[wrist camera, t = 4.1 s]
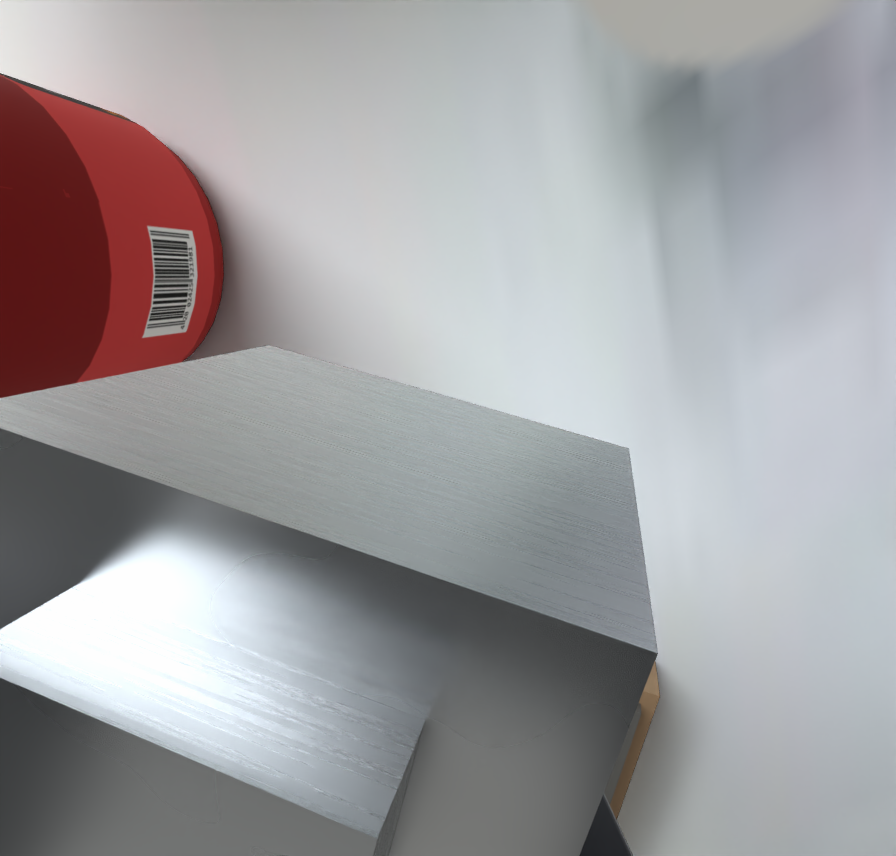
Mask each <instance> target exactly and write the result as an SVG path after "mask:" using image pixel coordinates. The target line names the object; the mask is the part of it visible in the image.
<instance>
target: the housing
mask: <svg viewBox="0 0 896 856" xmlns="http://www.w3.org/2000/svg"><path fill="white" fill-rule="evenodd" d="M657 654H658V652H657V644H656V637H655V630H654V623H653V616H652V609H651V602H650V595H649V588H648V581H647V574H646V567H645V560H644V553H643V545H642V538H641V531H640V524H639V517H638V510H637V503H636V496H635V489H634V482H633V475H632V468H631V461H630V454H629V448H625V447H622V446H618V445H615V444H611V443H608V442H604V441H601V440H597V439H594V438H590V437H587V436H583V435H580V434H576V433H573V432H569V431H566V430H563V429H559V428H556V427H552V426H549V425H545V424H542V423H538V422H535V421H531V420H528V419H524V418H521V417H517V416H514V415H510V414H507V413H503V412H500V411H497V410H493V409H490V408H486V407H483V406H479V405H476V404H472V403H469V402H465V401H462V400H458V399H455V398H451V397H448V396H444V395H441V394H437V393H434V392H431V391H427V390H424V389H420V388H417V387H413V386H410V385H406V384H403V383H399V382H396V381H392V380H389V379H385V378H382V377H378V376H375V375H371V374H368V373H364V372H361V371H358V370H354V369H351V368H347V367H344V366H340V365H337V364H333V363H330V362H326V361H323V360H319V359H316V358H312V357H309V356H305V355H302V354H298V353H295V352H292V351H288V350H285V349H281V348H278V347H274V346H271V345H267V346H262V347H257V348H252V349H247V350H242V351H237V352H232V353H227V354H222V355H217V356H211V357H206V358H201V359H196V360H191V361H186V362H181V363H176V364H171V365H166V366H161V367H156V368H151V369H146V370H140V371H135V372H130V373H125V374H120V375H115V376H110V377H105V378H100V379H95V380H90V381H85V382H80V383H74V384H69V385H64V386H59V387H54V388H49V389H44V390H39V391H34V392H29V393H24V394H19V395H14V396H9V397H3V398H0V856H579V855H580V853H581V850H582V847H583V845H584V842H585V840H586V837H587V835H588V832H589V829H590V827H591V824H592V822H593V819H594V816H595V814H596V811H597V809H598V806H599V804H600V801H601V798H602V796H603V793H604V791H605V788H606V786H607V783H608V780H609V778H610V775H611V773H612V770H613V768H614V765H615V762H616V760H617V757H618V755H619V752H620V749H621V747H622V744H623V742H624V739H625V737H626V734H627V731H628V729H629V726H630V724H631V721H632V719H633V716H634V713H635V711H636V708H637V706H638V703H639V701H640V698H641V695H642V693H643V690H644V688H645V685H646V682H647V680H648V677H649V675H650V672H651V670H652V667H653V664H654V662H655V659H656V657H657Z"/></svg>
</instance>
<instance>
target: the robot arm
mask: <svg viewBox="0 0 896 856" xmlns="http://www.w3.org/2000/svg"><path fill="white" fill-rule="evenodd" d="M579 856H633V855H632V853H631V850H630V848H629V846H628V844H627V842H626V840H625V837H624V835H623V833H622V831H621V829H620V826H619V824H618V822H617V820H616V818H615V816H614V813H613V811H612V809H611V807H610V805H609V802H608V800H607V798H606V796H605V794H604V793H603V796H602V798H601V801H600V804H599V806H598V809H597V811H596V814H595V816H594V819H593V822H592V824H591V827H590V829H589V832H588V835H587V837H586V840H585V842H584V845H583V847H582V850H581V853H580V855H579Z"/></svg>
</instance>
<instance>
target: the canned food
mask: <svg viewBox="0 0 896 856" xmlns="http://www.w3.org/2000/svg"><path fill="white" fill-rule="evenodd" d="M223 276H224V271H223V250H222V245H221V240H220V235H219V231H218V226H217V222H216V220H215V217H214V214H213V212H212V209H211V206H210V204H209V201H208V199H207V197H206V195H205V193H204V192H203V190H202V188H201V187H200V185H199V183H198V181H197V180H196V178H195V176H194V175H193V174H192V173H191V171H190V170H189V169H188V168H187V166H186V165H185V164H184V163H183V162H182V160H181V159H180V158H179V157H178V156H177V155H176V154H175V153H173V152H172V151H171V150H170V149H169V148H168V147H166V146H165V145H164V144H163V143H162V142H160V141H159V140H158V139H157V138H156V137H155V136H153V135H152V134H151V133H150V132H149V131H147V130H146V129H145V128H144V127H142V126H140V125H138V124H137V123H135V122H133V121H131V120H129V119H127V118H125V117H124V116H122V115H119V114H116V113H114V112H111V111H108V110H105V109H102V108H99V107H96V106H93V105H90V104H88V103H85V102H82V101H79V100H76V99H73V98H70V97H67V96H65V95H62V94H59V93H56V92H53V91H50V90H47V89H44V88H42V87H39V86H36V85H33V84H30V83H27V82H24V81H21V80H18V79H16V78H13V77H10V76H7V75H4V74H1V73H0V398H3V397H9V396H14V395H19V394H24V393H29V392H34V391H39V390H44V389H49V388H54V387H59V386H64V385H69V384H74V383H80V382H85V381H90V380H95V379H100V378H105V377H110V376H115V375H120V374H125V373H130V372H135V371H140V370H146V369H151V368H156V367H161V366H166V365H171V364H176V363H181V362H183V361H184V360H185V359H186V358H188V357H189V356H190V355H191V354H192V353H193V352H194V351H195V350H196V348H197V347H198V346H199V345H200V344H201V343H202V341H203V340H204V339H205V337H206V335H207V333H208V331H209V329H210V328H211V326H212V324H213V322H214V320H215V316H216V313H217V310H218V307H219V303H220V300H221V293H222V285H223Z"/></svg>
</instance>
